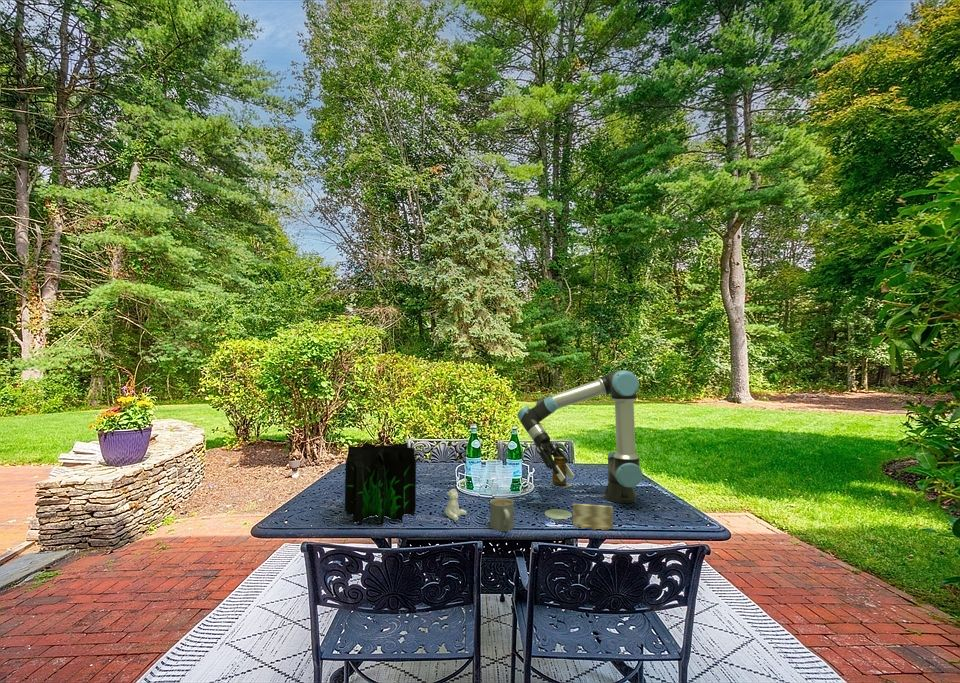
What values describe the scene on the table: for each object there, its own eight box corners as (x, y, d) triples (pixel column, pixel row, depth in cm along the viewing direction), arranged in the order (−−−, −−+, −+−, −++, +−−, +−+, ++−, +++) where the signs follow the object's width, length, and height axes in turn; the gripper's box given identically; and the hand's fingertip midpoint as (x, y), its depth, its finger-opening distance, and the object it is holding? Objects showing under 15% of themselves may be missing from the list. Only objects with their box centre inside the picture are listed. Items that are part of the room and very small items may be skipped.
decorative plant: (358, 532, 175) (359, 456, 176) (339, 510, 200) (340, 444, 201) (423, 518, 190) (424, 449, 191) (398, 500, 215) (399, 439, 217)
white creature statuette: (456, 521, 186) (456, 493, 187) (439, 518, 191) (440, 490, 191) (467, 515, 195) (467, 488, 195) (451, 511, 199) (451, 485, 199)
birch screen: (573, 527, 180) (572, 505, 181) (573, 524, 184) (572, 502, 184) (613, 530, 177) (612, 508, 177) (612, 527, 181) (612, 505, 181)
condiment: (557, 481, 201) (557, 455, 202) (573, 485, 195) (573, 458, 196) (548, 484, 196) (548, 457, 197) (564, 488, 190) (564, 460, 191)
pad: (555, 508, 204) (555, 507, 204) (577, 515, 195) (577, 514, 195) (539, 514, 196) (539, 513, 196) (561, 521, 187) (561, 520, 187)
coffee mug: (489, 521, 186) (489, 498, 187) (512, 521, 187) (512, 497, 187) (491, 534, 173) (491, 508, 173) (516, 533, 173) (516, 508, 174)
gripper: (547, 438, 214) (575, 479, 202) (521, 443, 201) (549, 486, 189) (556, 429, 211) (585, 470, 198) (530, 433, 198) (559, 477, 185)
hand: (567, 478), depth 193 cm, fingers closed on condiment, 6 cm apart
